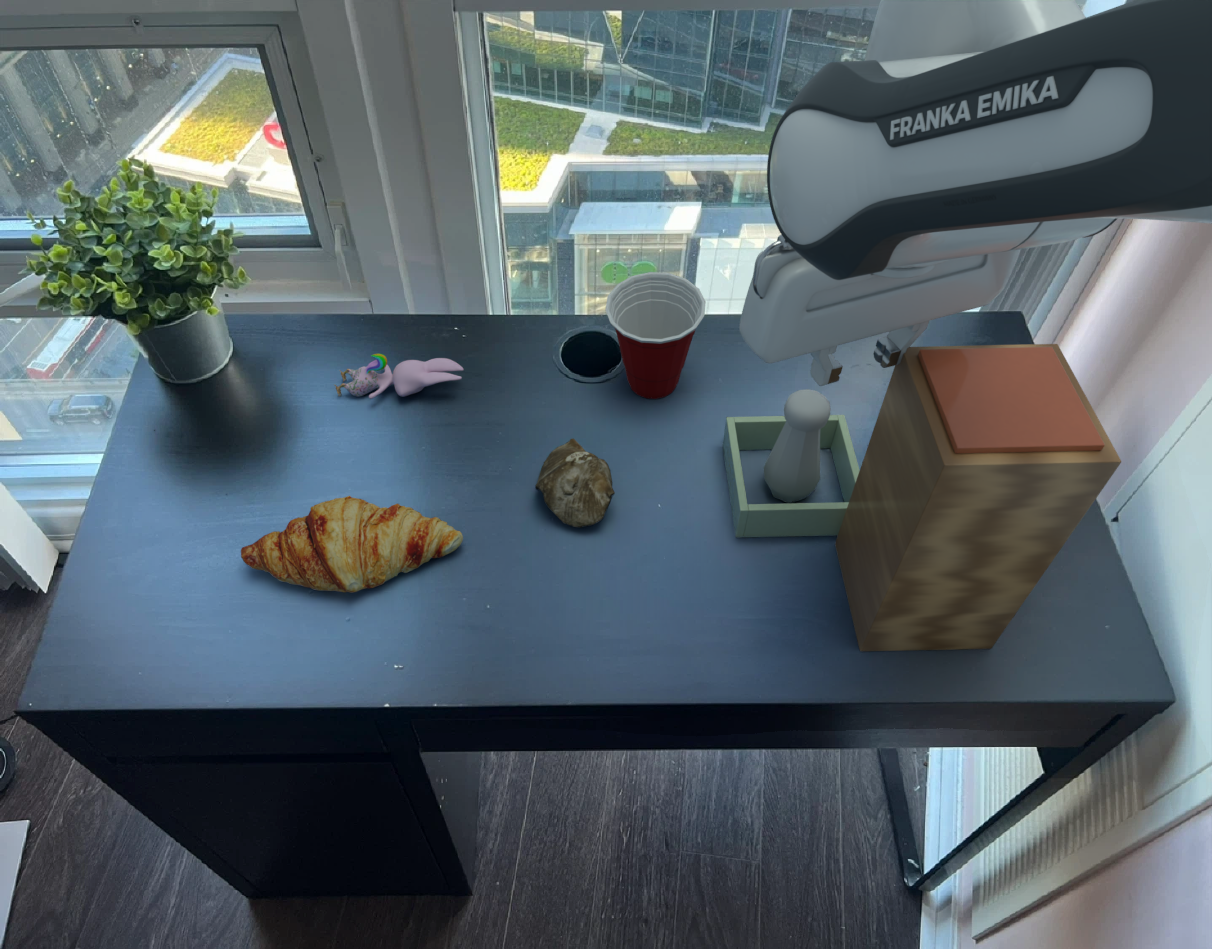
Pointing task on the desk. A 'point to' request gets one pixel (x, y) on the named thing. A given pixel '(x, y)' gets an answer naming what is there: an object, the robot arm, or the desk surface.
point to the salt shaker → (798, 447)
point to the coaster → (1008, 400)
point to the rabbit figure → (399, 376)
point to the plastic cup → (655, 328)
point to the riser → (954, 522)
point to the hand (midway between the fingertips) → (855, 370)
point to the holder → (792, 515)
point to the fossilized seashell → (576, 485)
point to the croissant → (351, 545)
